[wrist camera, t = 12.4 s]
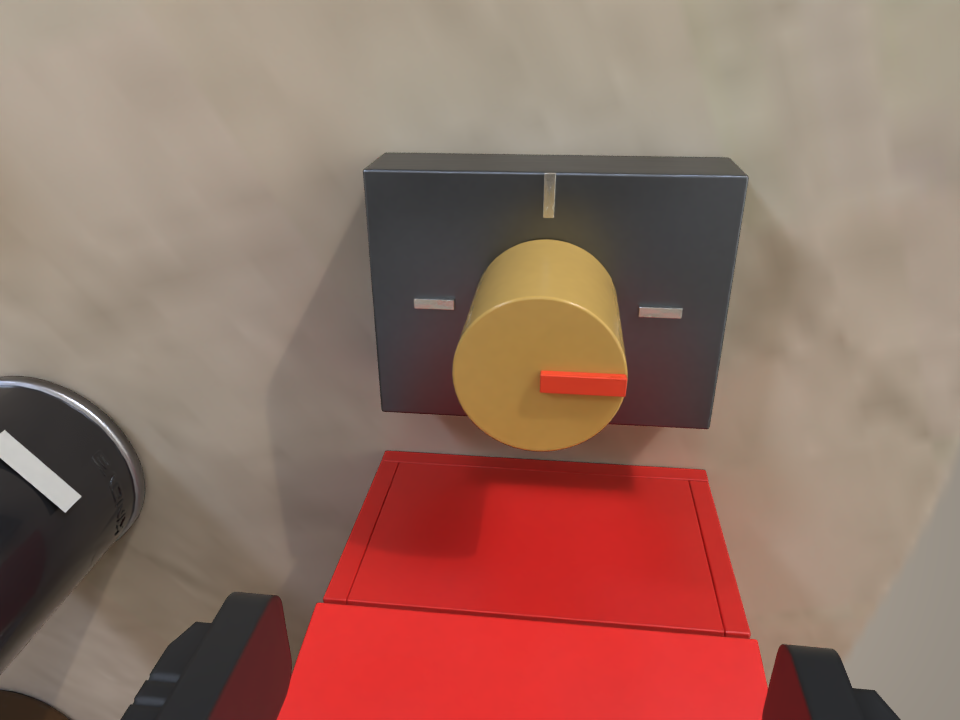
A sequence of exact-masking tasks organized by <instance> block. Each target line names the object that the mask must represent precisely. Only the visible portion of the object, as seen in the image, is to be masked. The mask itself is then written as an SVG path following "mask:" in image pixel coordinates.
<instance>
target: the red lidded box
mask: <svg viewBox="0 0 960 720" xmlns="http://www.w3.org/2000/svg"><path fill="white" fill-rule="evenodd" d="M323 601H324V603H330V604H342V605H353V606H365V607H377V608H389V609H401V610H413V611H424V612H436V613H448V614H460V615H472V616H484V617H495V618H507V619H519V620H531V621H543V622H555V623H566V624H578V625H590V626H602V627H614V628H626V629H637V630H649V631H661V632H673V633H685V634H697V635H708V636H720V637H732V638H744V639H750V636H751V633H750V629H749V626H748V622H747V619H746V615H745V612H744V608H743V604H742V601H741V597H740V594H739V590H738V587H737V583H736V579H735V576H734V572H733V569H732V565H731V562H730V558H729V554H728V551H727V547H726V544H725V540H724V537H723V533H722V529H721V526H720V522H719V519H718V515H717V512H716V508H715V504H714V501H713V497H712V494H711V490H710V487H709V483H708V478H707V475H706V471H705V470H699V469H682V468H665V467H649V466H632V465H616V464H599V463H583V462H566V461H549V460H533V459H516V458H500V457H483V456H467V455H450V454H433V453H417V452H400V451H385V453H384V456H383V458H382V460H381V463H380V465H379V468H378V470H377V472H376V475H375V477H374V480H373V482H372V484H371V487H370V489H369V491H368V494H367V496H366V498H365V501H364V503H363V506H362V508H361V510H360V513H359V515H358V517H357V520H356V522H355V524H354V527H353V529H352V532H351V534H350V536H349V539H348V541H347V543H346V546H345V548H344V550H343V553H342V555H341V558H340V560H339V562H338V565H337V567H336V569H335V572H334V574H333V576H332V579H331V581H330V584H329V586H328V588H327V591H326V593H325V595H324V598H323Z"/></svg>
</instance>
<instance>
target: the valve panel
mask: <svg viewBox="0 0 960 720" xmlns="http://www.w3.org/2000/svg"><path fill="white" fill-rule="evenodd" d="M363 178H364V191H365V204H366V216H367V229H368V242H369V255H370V268H371V280H372V293H373V306H374V319H375V332H376V345H377V357H378V370H379V383H380V396H381V409H382V411H384V412H401V413H419V414H437V415H456V416H468V415H467V414H466V413H465V411H464V410H463V408H462V406H461V404H460V403H459V400H458V398H457V395H456V392H455V388H454V384H453V376H452V368H453V359H454V354H455V351H456V348H457V345H458V342H459V339H460V336H461V333H462V330H463V328H464V325H465V322H466V319H467V316H468V313H469V310H470V307H471V304H472V301H473V298H474V296H475V293H476V290H477V287H478V284H479V281H480V279H481V277H482V275H483V273H484V272H485V270H486V269H487V267H488V266H489V265H490V264H491V263H492V262H493V261H494V260H495V258H497V257H498V256H499V255H500V254H502V253H503V252H505V251H506V250H508V249H510V248H511V247H514V246H516V245H518V244H521V243H524V242H528V241H533V240H544V239H549V240H559V241H563V242H567V243H570V244H573V245H576V246H578V247H580V248H582V249H584V250H585V251H587V252H588V253H590V254H591V255H593V256H594V257H595V258H596V259H597V260H598V261H599V262H600V263H601V264H602V265H603V267H604V268H605V269H606V271H607V272H608V274H609V275H610V277H611V279H612V282H613V284H614V287H615V290H616V294H617V301H618V308H619V314H620V321H621V328H622V335H623V342H624V349H625V356H626V363H627V370H628V378H627V387H626V396H625V397H624V398H623V402H622V404H621V406H620V408H619V410H618V411H617V413H616V414H615V416H614V417H613V419H612V420H611V421H610V422H609V423H608V424H621V425H640V426H658V427H676V428H695V429H709V427H710V421H711V415H712V409H713V402H714V396H715V389H716V383H717V377H718V370H719V364H720V358H721V351H722V345H723V338H724V332H725V326H726V319H727V313H728V307H729V300H730V294H731V287H732V281H733V275H734V268H735V262H736V255H737V249H738V243H739V236H740V230H741V224H742V217H743V211H744V204H745V198H746V192H747V185H748V179H749V178H748V176H747V175H746V174H745V173H744V172H743V171H742V170H741V169H740V168H739V167H738V166H737V165H736V164H735V163H734V162H733V161H732V160H731V159H730V158H720V157H651V156H583V155H515V154H446V153H384V154H383V155H382V156H380V157H379V158H378V159H377V160H375V161H374V162H373V163H371V164H370V165H369V166H368V167H366V168H365V169H364V170H363Z"/></svg>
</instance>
